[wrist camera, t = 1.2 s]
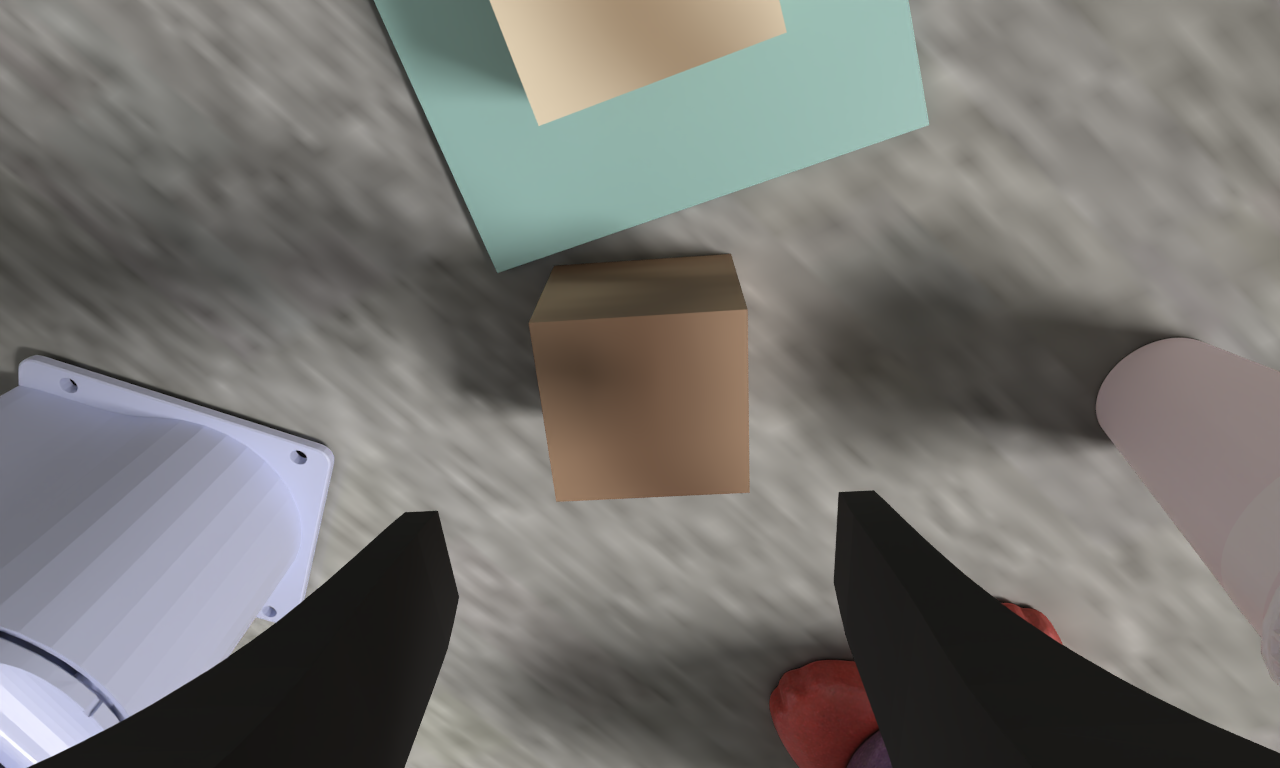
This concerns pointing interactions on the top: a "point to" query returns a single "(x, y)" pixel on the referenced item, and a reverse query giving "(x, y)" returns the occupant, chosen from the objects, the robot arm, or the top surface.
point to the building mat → (651, 119)
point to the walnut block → (644, 378)
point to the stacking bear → (841, 711)
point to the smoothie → (1208, 462)
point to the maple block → (621, 44)
